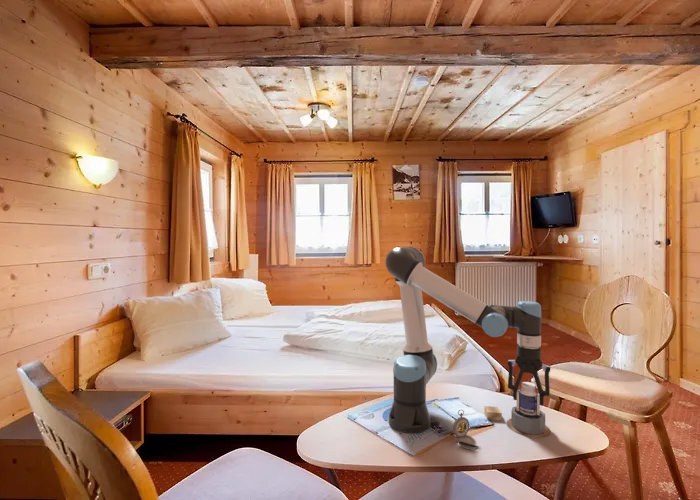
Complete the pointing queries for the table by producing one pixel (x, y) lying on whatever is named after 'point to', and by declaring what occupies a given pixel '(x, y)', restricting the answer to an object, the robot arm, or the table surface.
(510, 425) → the board
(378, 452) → the table surface
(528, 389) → the pill bottle
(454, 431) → the pocket watch
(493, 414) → the oak block
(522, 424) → the grey round bowl
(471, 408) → the table surface
